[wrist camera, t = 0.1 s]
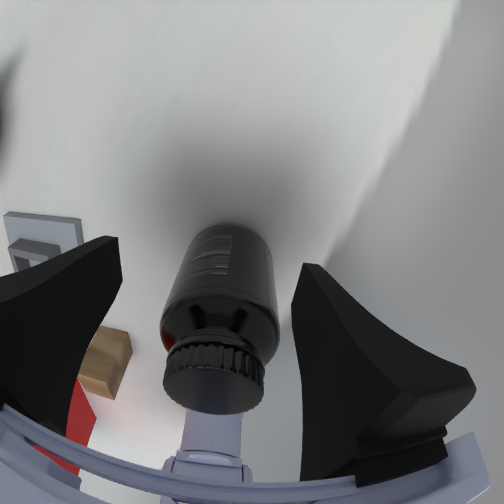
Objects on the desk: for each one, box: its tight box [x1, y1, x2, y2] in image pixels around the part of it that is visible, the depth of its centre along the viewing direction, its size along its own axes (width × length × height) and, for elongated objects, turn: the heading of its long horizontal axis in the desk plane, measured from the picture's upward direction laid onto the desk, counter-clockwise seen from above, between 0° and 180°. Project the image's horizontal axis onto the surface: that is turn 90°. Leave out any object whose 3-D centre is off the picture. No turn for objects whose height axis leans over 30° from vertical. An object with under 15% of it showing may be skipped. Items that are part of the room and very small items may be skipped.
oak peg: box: [78, 326, 133, 400], centre depth 24 cm, size 4×4×7 cm
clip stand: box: [3, 212, 84, 272], centre depth 21 cm, size 11×11×3 cm
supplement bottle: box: [160, 225, 280, 415], centre depth 16 cm, size 7×7×12 cm
